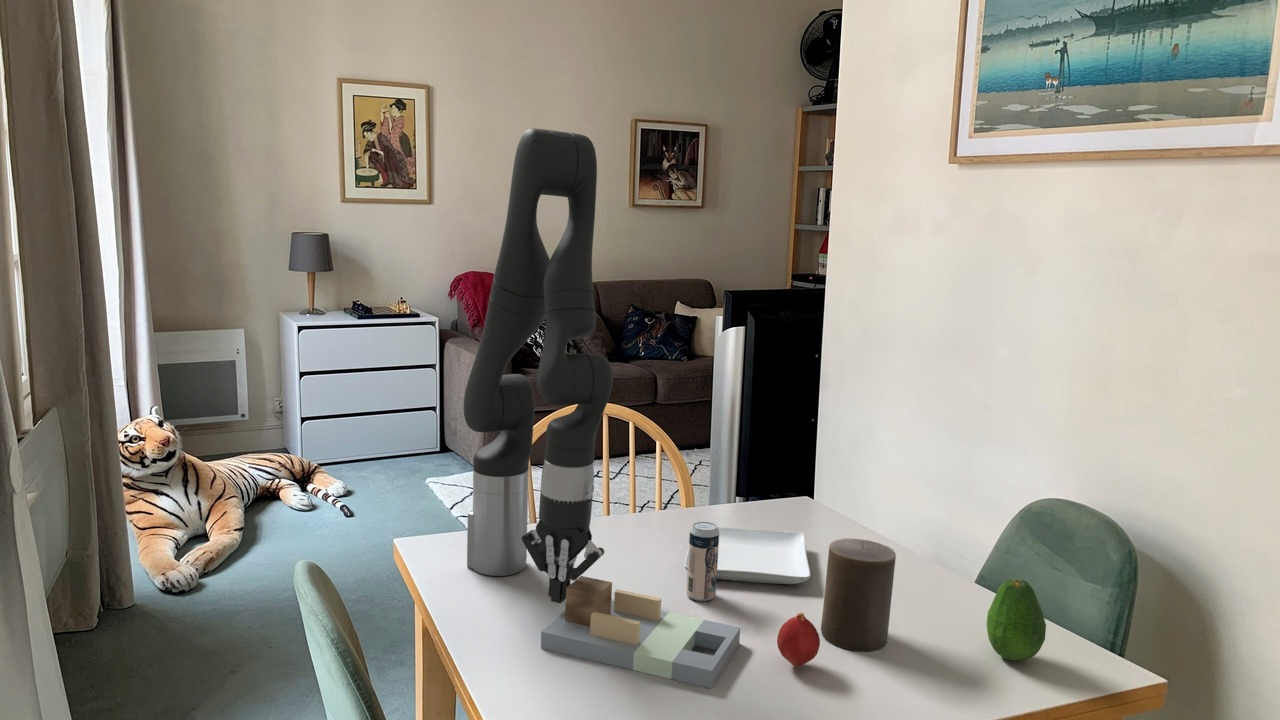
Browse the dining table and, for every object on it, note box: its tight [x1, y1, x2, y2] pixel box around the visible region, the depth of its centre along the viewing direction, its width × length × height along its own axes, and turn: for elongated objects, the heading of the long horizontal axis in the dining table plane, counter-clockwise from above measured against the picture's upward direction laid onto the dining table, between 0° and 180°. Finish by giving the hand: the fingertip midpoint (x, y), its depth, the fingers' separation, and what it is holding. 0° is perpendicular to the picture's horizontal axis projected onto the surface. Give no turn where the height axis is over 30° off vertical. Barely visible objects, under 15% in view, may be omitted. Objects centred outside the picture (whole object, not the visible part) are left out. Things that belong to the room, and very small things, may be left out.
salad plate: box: [683, 526, 811, 585], centre depth 163 cm, size 21×21×3 cm
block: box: [564, 575, 613, 626], centre depth 134 cm, size 5×5×5 cm
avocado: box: [986, 577, 1047, 662], centre depth 131 cm, size 8×8×12 cm
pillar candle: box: [820, 537, 897, 652], centre depth 136 cm, size 10×10×15 cm
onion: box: [776, 612, 821, 668], centre depth 127 cm, size 6×6×8 cm
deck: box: [540, 589, 741, 689], centre depth 131 cm, size 25×14×6 cm, turn 69°
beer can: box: [686, 521, 720, 602], centre depth 148 cm, size 5×5×12 cm
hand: (558, 600), depth 136 cm, fingers closed
